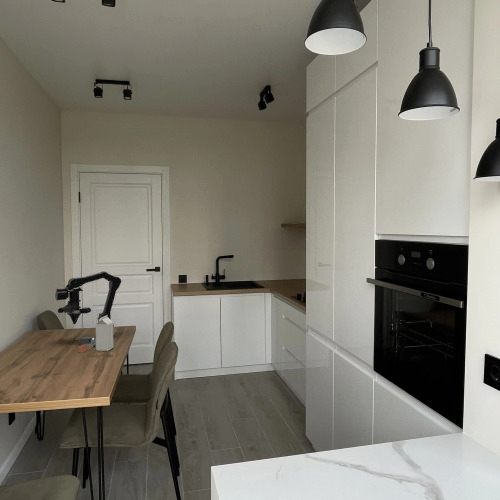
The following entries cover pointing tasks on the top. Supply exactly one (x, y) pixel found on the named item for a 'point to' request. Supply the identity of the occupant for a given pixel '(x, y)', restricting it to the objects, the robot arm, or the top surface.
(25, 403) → the top surface
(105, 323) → the milk carton
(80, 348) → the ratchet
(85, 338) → the dark-topped grey cube
